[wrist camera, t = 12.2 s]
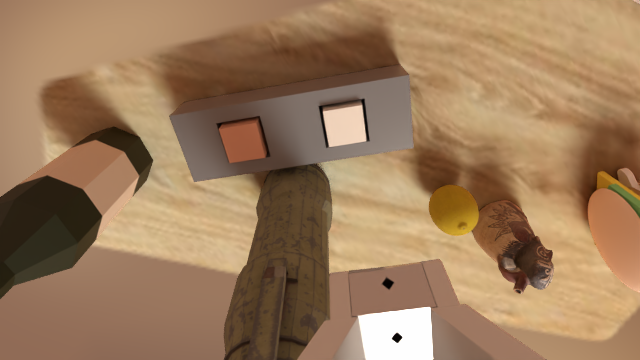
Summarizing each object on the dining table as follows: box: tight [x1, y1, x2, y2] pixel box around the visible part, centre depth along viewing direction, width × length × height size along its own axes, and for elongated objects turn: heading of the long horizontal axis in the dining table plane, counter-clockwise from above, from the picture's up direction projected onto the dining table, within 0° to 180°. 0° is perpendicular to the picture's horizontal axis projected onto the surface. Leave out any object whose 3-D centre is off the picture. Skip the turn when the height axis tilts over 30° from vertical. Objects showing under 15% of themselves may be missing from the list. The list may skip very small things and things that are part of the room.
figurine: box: [472, 200, 554, 294], centre depth 47 cm, size 7×7×12 cm
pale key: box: [323, 99, 366, 147], centre depth 41 cm, size 4×4×4 cm
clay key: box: [219, 116, 268, 163], centre depth 42 cm, size 4×4×4 cm
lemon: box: [429, 185, 479, 236], centre depth 46 cm, size 6×6×8 cm
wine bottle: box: [0, 127, 153, 299], centre depth 34 cm, size 8×8×30 cm
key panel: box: [169, 64, 414, 182], centre depth 43 cm, size 25×8×5 cm, turn 100°
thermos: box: [224, 164, 332, 360], centre depth 34 cm, size 9×12×35 cm
